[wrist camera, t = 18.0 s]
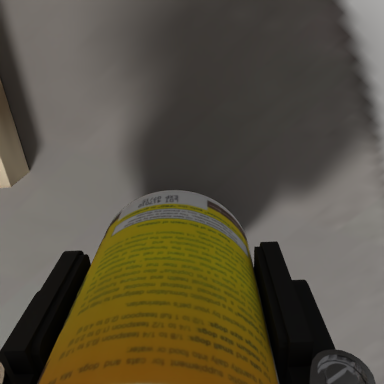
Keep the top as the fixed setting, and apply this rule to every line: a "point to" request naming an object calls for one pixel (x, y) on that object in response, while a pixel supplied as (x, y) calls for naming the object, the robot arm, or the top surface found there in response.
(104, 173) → the top surface
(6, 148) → the frame
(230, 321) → the supplement bottle
